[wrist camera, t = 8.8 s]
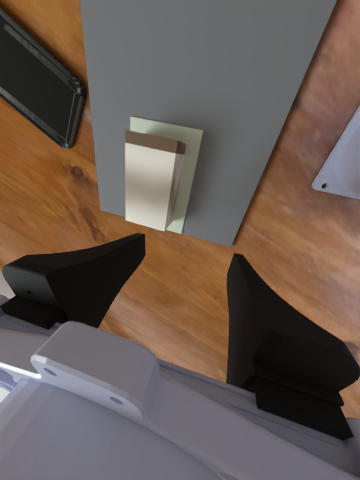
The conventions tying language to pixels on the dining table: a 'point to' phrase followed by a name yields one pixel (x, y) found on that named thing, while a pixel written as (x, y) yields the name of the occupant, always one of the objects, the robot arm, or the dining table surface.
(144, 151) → the card box
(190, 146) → the pad
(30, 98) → the phone
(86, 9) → the mat
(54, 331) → the robot arm
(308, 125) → the dining table surface
